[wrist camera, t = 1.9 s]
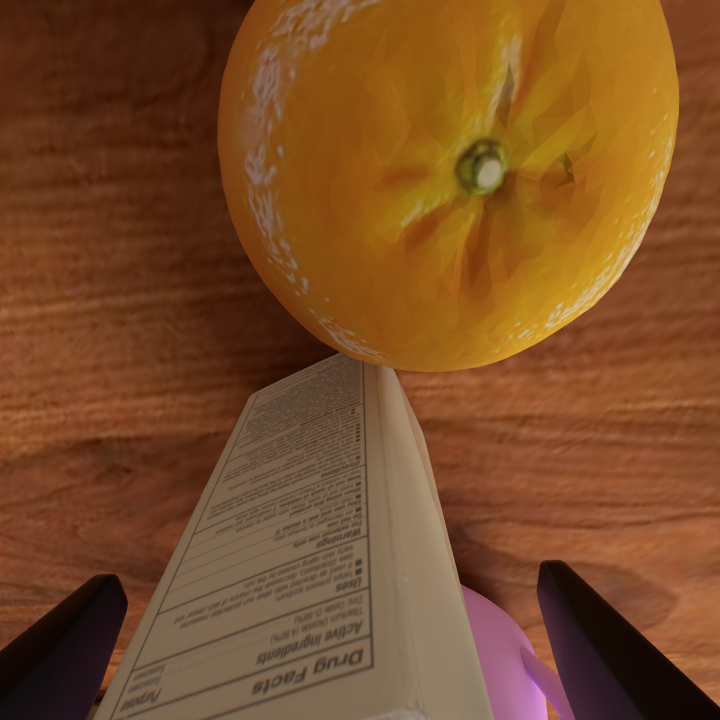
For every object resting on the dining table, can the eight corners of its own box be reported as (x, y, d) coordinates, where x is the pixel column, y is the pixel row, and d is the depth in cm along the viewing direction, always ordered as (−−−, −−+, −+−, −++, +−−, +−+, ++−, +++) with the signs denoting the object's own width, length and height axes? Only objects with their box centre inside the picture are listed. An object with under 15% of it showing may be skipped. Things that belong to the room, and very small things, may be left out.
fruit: (605, 401, 11) (768, 392, 4) (311, 363, 14) (76, 317, 7) (640, 85, 12) (847, -491, 4) (347, 116, 15) (163, -183, 7)
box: (305, 479, 17) (210, 956, 7) (246, 390, 15) (7, 835, 5) (432, 431, 16) (548, 904, 6) (383, 330, 14) (422, 734, 4)
